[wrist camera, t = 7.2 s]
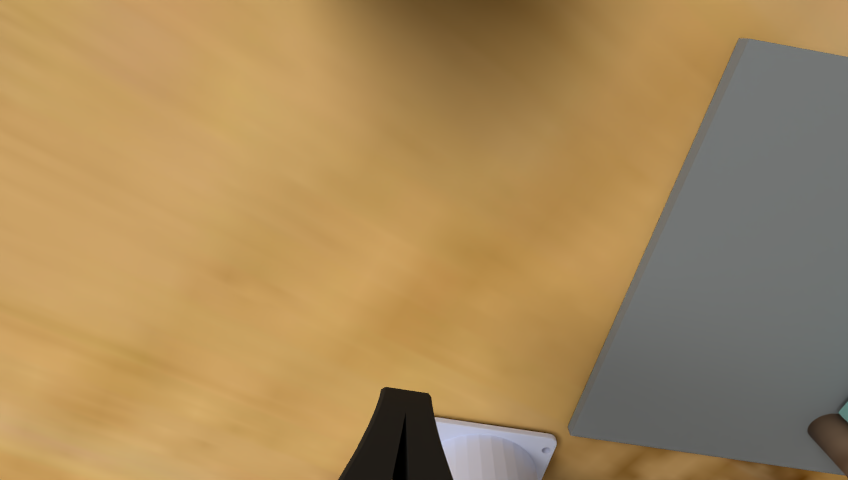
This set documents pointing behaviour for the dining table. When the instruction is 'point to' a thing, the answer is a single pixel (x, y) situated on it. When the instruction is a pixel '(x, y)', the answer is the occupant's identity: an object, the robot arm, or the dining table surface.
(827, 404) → the slate mat
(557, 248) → the dining table surface
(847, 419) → the gate
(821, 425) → the hinge post
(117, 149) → the dining table surface
